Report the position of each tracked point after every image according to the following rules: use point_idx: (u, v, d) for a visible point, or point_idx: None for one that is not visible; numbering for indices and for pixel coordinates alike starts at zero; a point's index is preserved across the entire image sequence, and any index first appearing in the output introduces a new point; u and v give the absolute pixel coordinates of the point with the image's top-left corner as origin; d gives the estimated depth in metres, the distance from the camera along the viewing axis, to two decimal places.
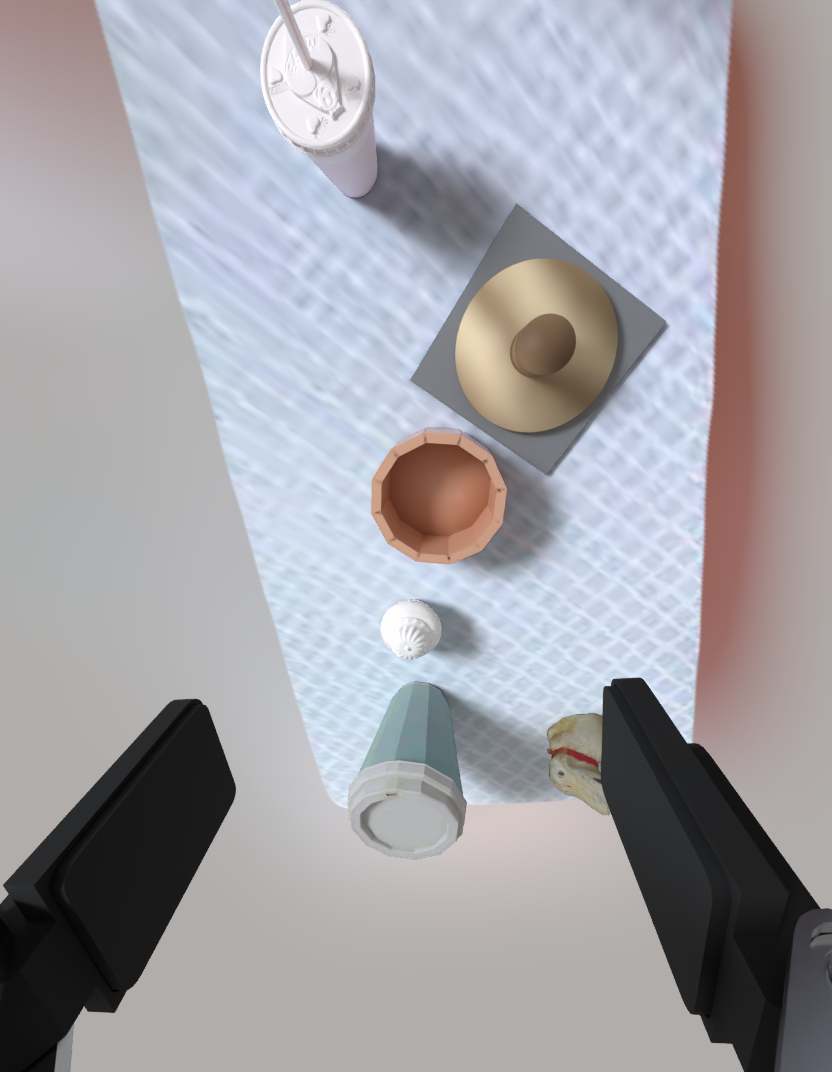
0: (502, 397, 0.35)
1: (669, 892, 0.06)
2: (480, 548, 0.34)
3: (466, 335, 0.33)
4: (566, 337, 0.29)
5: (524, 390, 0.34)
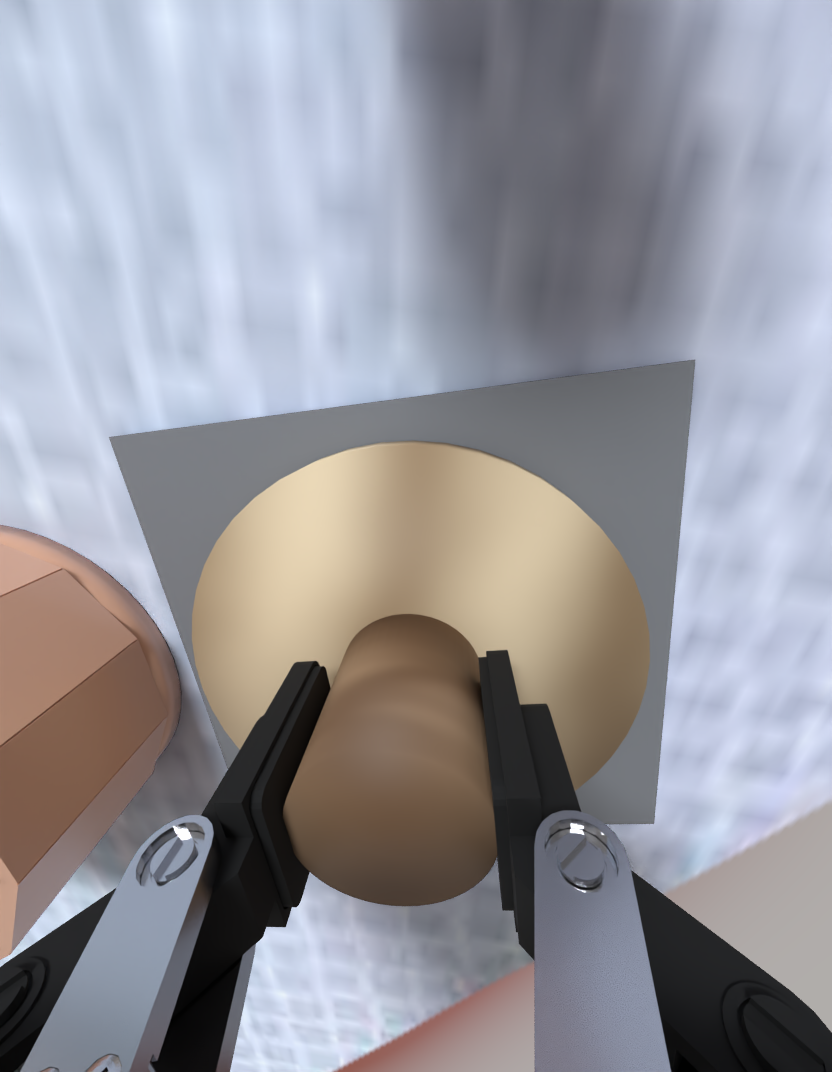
0: (268, 683, 0.12)
1: None
2: None
3: (300, 501, 0.10)
4: (453, 866, 0.08)
5: None
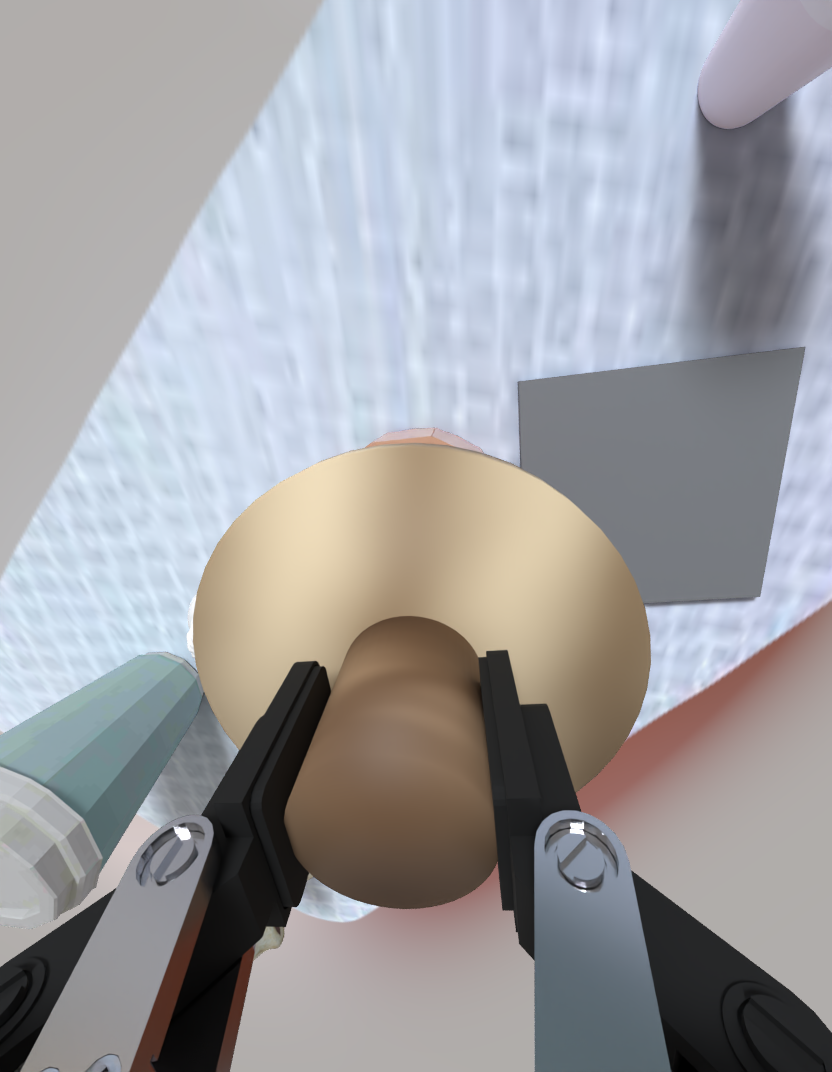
0: (269, 685, 0.12)
1: None
2: None
3: (301, 503, 0.10)
4: (454, 869, 0.08)
5: None
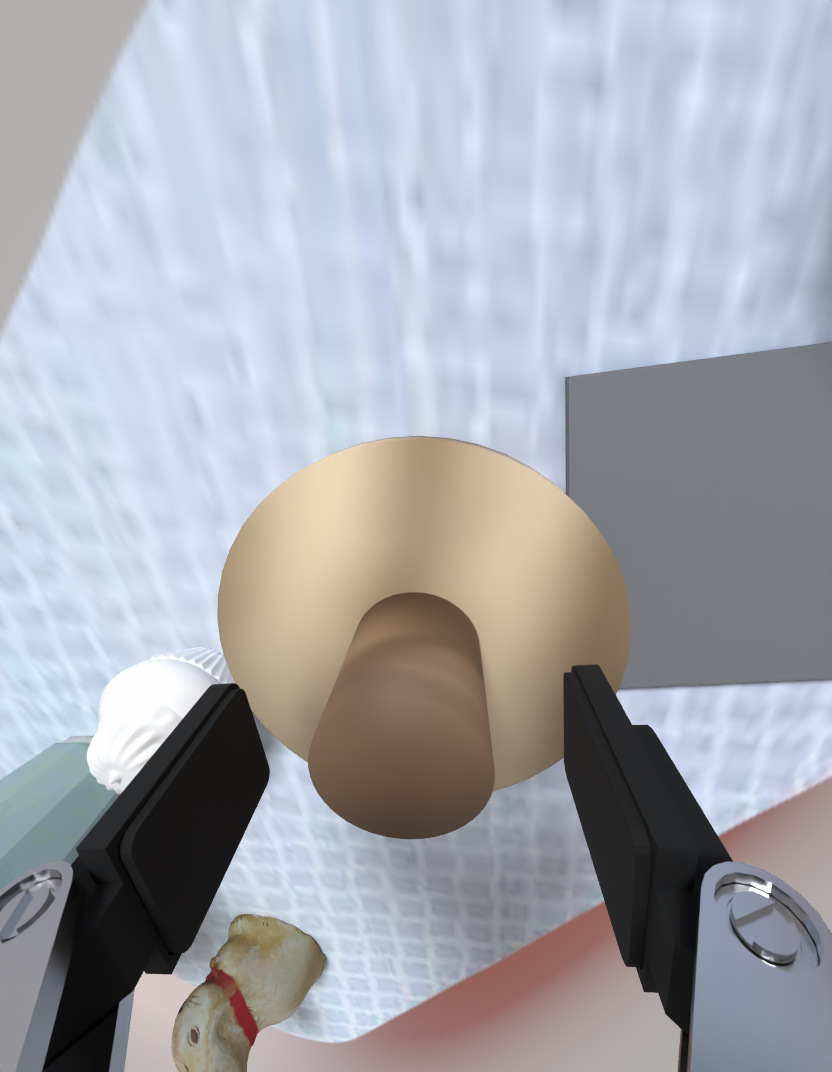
0: (286, 656, 0.13)
1: (610, 857, 0.07)
2: None
3: (318, 490, 0.11)
4: (455, 800, 0.09)
5: None
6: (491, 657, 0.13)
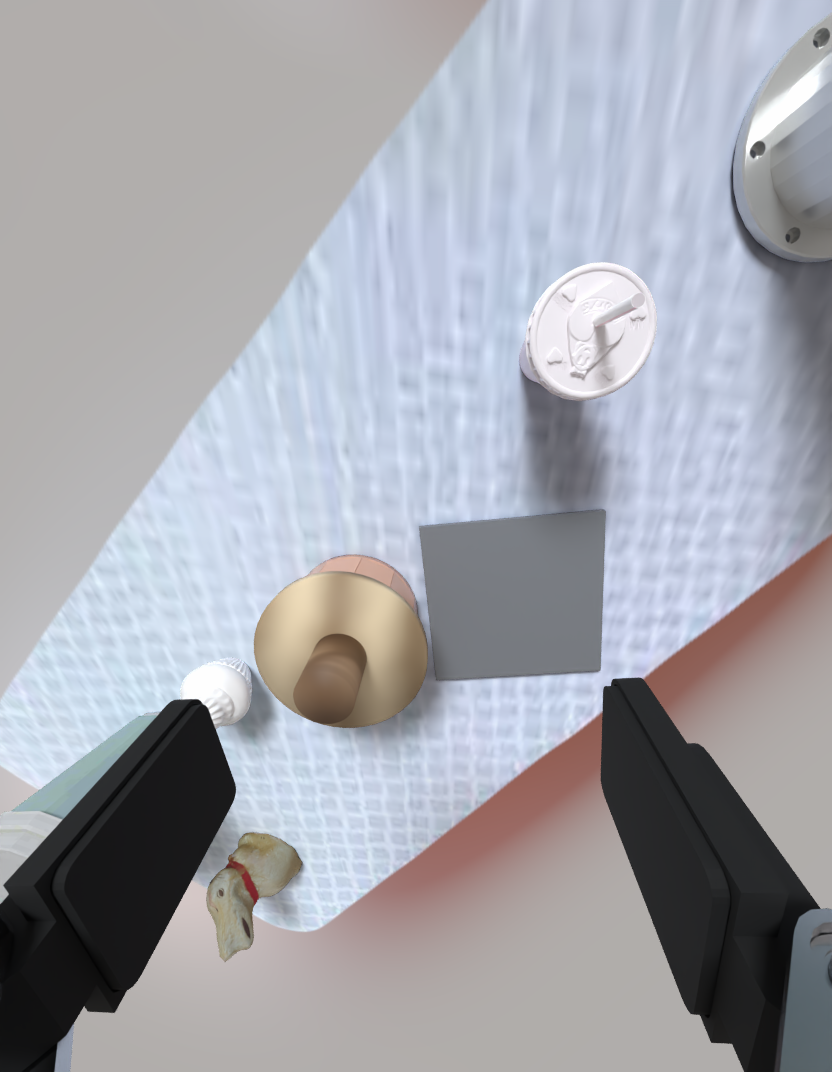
0: (283, 661, 0.30)
1: (669, 892, 0.06)
2: None
3: (298, 593, 0.29)
4: (343, 708, 0.26)
5: None
6: (371, 660, 0.30)
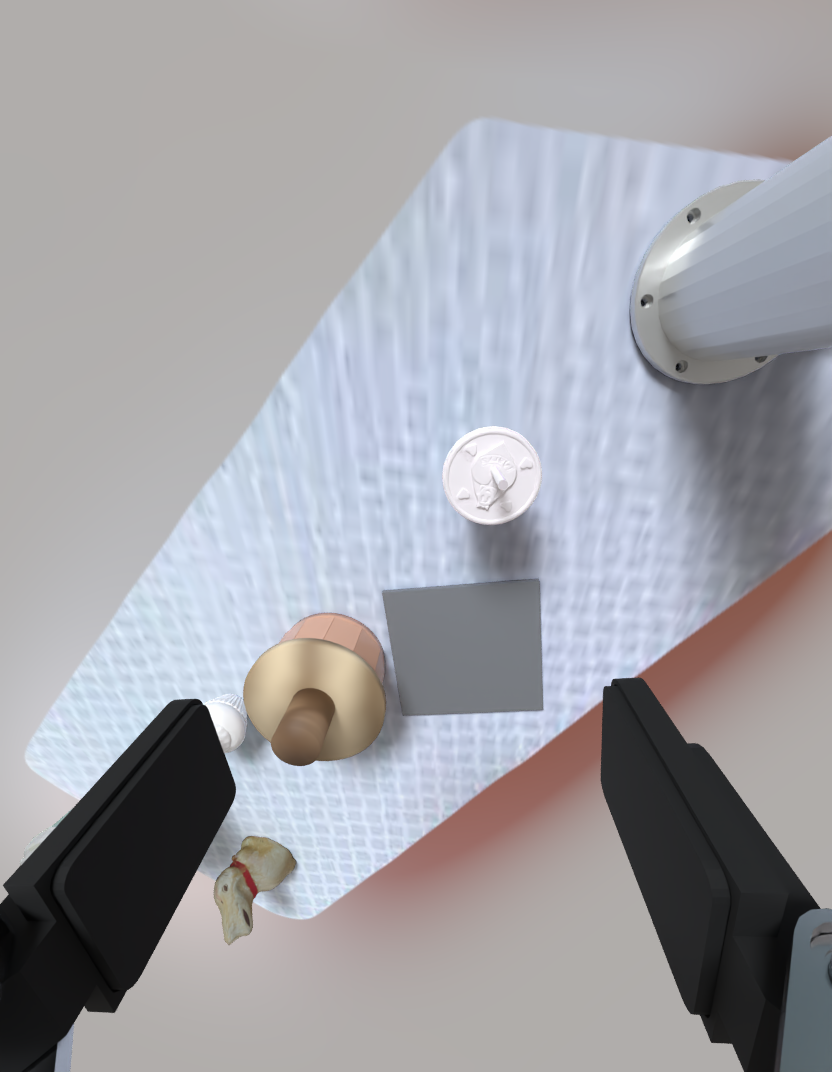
0: (267, 708, 0.37)
1: (670, 893, 0.06)
2: None
3: (277, 657, 0.35)
4: (310, 754, 0.33)
5: None
6: (339, 709, 0.36)
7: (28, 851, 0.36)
